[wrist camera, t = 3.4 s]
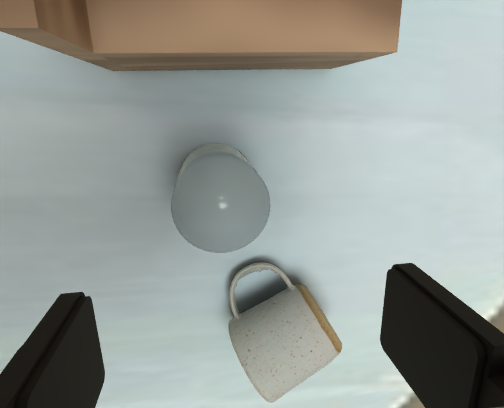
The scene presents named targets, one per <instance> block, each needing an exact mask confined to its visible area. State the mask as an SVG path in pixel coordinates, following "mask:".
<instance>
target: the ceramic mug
mask: <svg viewBox="0 0 504 408" xmlns="http://www.w3.org/2000/svg"><path fill="white" fill-rule="evenodd" d="M269 269H270V270H272V271H274V272H275V273H277V274H279V275H280V276H281V278H282V279H283V280H284V281H285V282H286V284H287V288H286V289H284V290H283V291H281V292H279V293H277V294H276V295H275V296H273V297H271V298H270V299H268V300H266V301H264V302H262V303H260V304H258V305H256V306H254V307H252V308H250V309H248V310H247V311H245V312H243V313H240V312H239V311H238V308H237V305H236V302H235V295H234V291H235V287H236V286H237V282H238V280H239V279H240V278H242V277H243V276H245V275H247V274H250V273H252V272H255V271H256V272H261V271H262V270H269ZM229 300H230V306H231V309H232V312H233V315H234V318H233V319H232V320H230V322H229V334H230V338H231V342H232V344H233V347H234V349H235V352H236V354H237V357H238V359H239V361H240V363H241V365H242V367H243V368H244V370H245V372H246V374H247V376H248V378H249V379H250V381H251V383H252V384H253V385H254V387H255V388H256V390H257V391H258V392H259V394H260V395H261V396H262V397H263V398H264V399H265V400H266V401H268V402H275V401H276V400H277V399H279V398H280V397H282V396H283V395H284V394H286V393H287V392H288V391H290V390H291V389H293V388H294V387H296V386H297V385H299V384H300V383H302V382H303V381H305V380H306V379H307V378H309V377H310V376H311V375H313V374H314V373H316V372H317V371H319V370H320V369H322V368H323V367H325V366H326V365H327V364H329V363H330V362H331V361H332V360H333V359H334V358H335V357H336V356H337V355H338V354H339V353H340V352H341V349H342V343H341V341H340V340H339V338H338V336H337V334H336V333H335V331H334V330H333V328H332V326H331V325H330V323H329V322H328V320H327V318H326V317H325V315H324V314H323V312H322V310H321V309H320V307H319V306H318V304H317V302H316V301H315V299H314V298H313V296H312V295H311V293H310V291H309V290H308V289H307V287H305V286H303V285H295V286H294V285H292V284H291V282H290V280H289V278H288V277H287V276H286V275H285V274H284V273H283V272H282V271H281V270H280V269H279V268H278V267H276V266H275V265H273V264H270V263H265V262H259V263H253V264H250V265H248V266H246V267H244V268H243V269H241V270H240V271H239V272H238V273H237V274H236V275H235V277H234V278H233V280H232V283H231V286H230V291H229Z"/></svg>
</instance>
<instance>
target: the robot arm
mask: <svg viewBox="0 0 504 408" xmlns="http://www.w3.org/2000/svg"><path fill="white" fill-rule="evenodd" d="M380 341H381V345H382V348H383V350H384V351H385V353H386V354H387V355H388V357H389V358H390V359H391V361H392V362H393V364H394V365H395V366H396V368H397V369H398V371H399V372H400V373H401V375H402V376H403V377H404V379H405V380H406V382H407V383H408V384H409V386H410V387H411V388H412V390H413V391H414V393H415V394H416V395H417V397H418V398H419V399H420V401H421V402H422V404H423V405H424V406H425V408H504V333H502V332H501V331H500V330H498V329H497V328H496V327H494V326H493V325H492V324H491V323H489V322H488V321H487V320H485V319H484V318H483V317H482V316H480V315H479V314H478V313H476V312H475V311H474V310H473V309H471V308H470V307H469V306H467V305H466V304H465V303H463V302H462V301H461V300H460V299H458V298H457V297H456V296H454V295H453V294H452V293H451V292H449V291H448V290H447V289H445V288H444V287H443V286H442V285H440V284H439V283H438V282H436V281H435V280H434V279H432V278H431V277H430V276H429V275H427V274H426V273H425V272H423V271H422V270H421V269H420V268H418V267H417V266H416V265H414V264H413V263H406V264H395V265H393V266H392V268H391V269H389V270H388V272H387V278H386V288H385V297H384V307H383V316H382V325H381V335H380ZM104 377H105V370H104V364H103V359H102V353H101V348H100V342H99V337H98V331H97V326H96V320H95V315H94V309H93V304H92V299H91V297H90V296H87V297H85V295H84V293H83V292H76V293H65V294H61V295H60V296H59V297H58V298H57V299H56V301H55V302H54V304H53V305H52V306H51V308H50V309H49V310H48V312H47V313H46V314H45V316H44V317H43V319H42V320H41V321H40V323H39V324H38V325H37V327H36V328H35V329H34V331H33V332H32V333H31V335H30V336H29V338H28V339H27V340H26V342H25V343H24V344H23V345H22V346H21V347H20V348H19V350H18V351H17V352H16V354H15V355H14V356H13V358H12V359H11V360H10V362H9V363H8V364H7V366H6V367H5V368H4V370H3V371H2V373H1V374H0V408H95V406H96V403H97V400H98V398H99V395H100V392H101V389H102V386H103V383H104Z"/></svg>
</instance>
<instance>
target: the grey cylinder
mask: <svg viewBox="0 0 504 408" xmlns="http://www.w3.org/2000/svg"><path fill="white" fill-rule="evenodd" d="M171 211H172V217H173V220H174V223H175V225H176V227H177V229H178V231H179V232H180V234H181V235H182V236H183V237H184V238H185V239H186V240H187V241H188V242H189V243H191V244H192V245H194V246H195V247H197V248H199V249H202V250H205V251H209V252H216V253H225V252H231V251H235V250H238V249H240V248H242V247H244V246H246V245H248V244H249V243H251V242H252V241H253V240H254V239H255V238H256V237H257V236H258V235H259V234H260V233H261V231H262V230H263V228H264V227H265V224H266V222H267V220H268V217H269V212H270V198H269V193H268V190H267V187H266V185H265V183H264V181H263V180H262V178H261V177H260V176H259V174H258V173H257V172H256V171H255V169H254V168H253V167H252V166H251V164H250V163H249V162H248V161H247V159H246V158H245V157H244V156H243V155H242V154H241V153H240V152H239V151H238V150H236V149H235V148H233V147H230V146H228V145H225V144H207V145H204V146H201V147H199V148H197V149H195V150H194V151H193V152H191V153H190V154H189V155H188V156H187V158H186V159H185V160H184V162H183V164H182V166H181V169H180V172H179V176H178V179H177V182H176V185H175V189H174V192H173V196H172V202H171Z"/></svg>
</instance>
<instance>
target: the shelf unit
mask: <svg viewBox="0 0 504 408" xmlns="http://www.w3.org/2000/svg"><path fill="white" fill-rule="evenodd" d="M401 5H402V0H0V31H2V32H5V33H8V34H11V35H13V36H16V37H19V38H22V39H25V40H27V41H30V42H33V43H36V44H39V45H42V46H44V47H47V48H50V49H53V50H56V51H59V52H61V53H64V54H67V55H70V56H73V57H76V58H78V59H81V60H84V61H87V62H90V63H92V64H95V65H98V66H101V67H104V68H107V69H109V70H112V71H151V70H250V69H332V68H336V67H340V66H344V65H348V64H352V63H356V62H360V61H364V60H368V59H372V58H376V57H379V56H383V55H387V54H391V53H395V52H397V48H398V37H399V27H400V16H401Z"/></svg>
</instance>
